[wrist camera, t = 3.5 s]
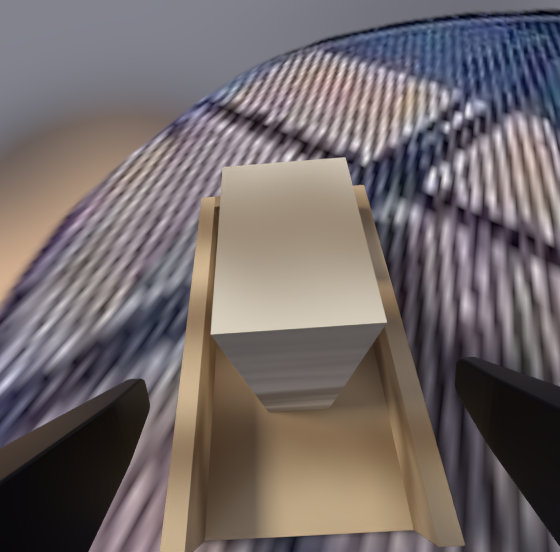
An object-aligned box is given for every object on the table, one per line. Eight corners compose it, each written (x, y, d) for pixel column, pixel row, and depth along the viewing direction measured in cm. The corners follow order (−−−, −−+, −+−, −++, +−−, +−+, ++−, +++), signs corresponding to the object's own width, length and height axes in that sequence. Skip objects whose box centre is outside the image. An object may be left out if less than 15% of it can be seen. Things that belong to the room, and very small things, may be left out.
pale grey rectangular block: (329, 408, 17) (386, 322, 6) (268, 412, 17) (210, 334, 6) (318, 326, 20) (345, 157, 8) (266, 329, 20) (222, 167, 8)
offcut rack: (447, 523, 15) (491, 544, 11) (171, 538, 15) (133, 562, 12) (366, 220, 25) (377, 184, 22) (203, 233, 25) (188, 198, 22)
